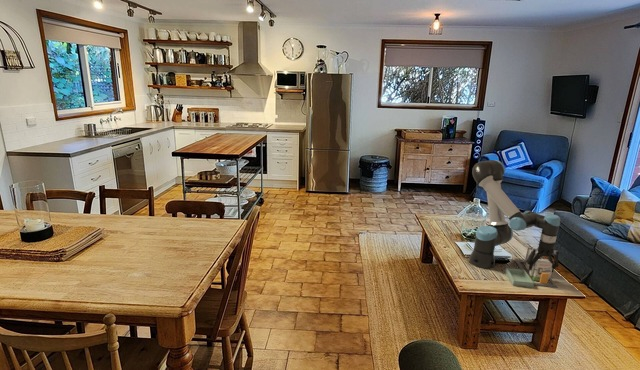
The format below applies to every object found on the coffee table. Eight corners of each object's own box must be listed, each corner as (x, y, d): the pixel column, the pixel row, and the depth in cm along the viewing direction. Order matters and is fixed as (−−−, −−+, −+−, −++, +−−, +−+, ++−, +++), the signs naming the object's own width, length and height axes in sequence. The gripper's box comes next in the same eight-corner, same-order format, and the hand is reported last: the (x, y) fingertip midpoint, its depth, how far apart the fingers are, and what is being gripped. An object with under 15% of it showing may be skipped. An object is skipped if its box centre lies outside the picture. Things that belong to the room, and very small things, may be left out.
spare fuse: (529, 271, 221) (533, 254, 218) (524, 264, 230) (527, 247, 226) (538, 272, 220) (542, 255, 217) (532, 265, 229) (536, 248, 225)
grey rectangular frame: (531, 284, 207) (534, 274, 205) (515, 261, 234) (517, 251, 232) (557, 287, 205) (560, 276, 203) (537, 263, 232) (540, 253, 230)
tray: (512, 285, 206) (513, 280, 205) (504, 272, 220) (505, 268, 219) (532, 287, 204) (533, 283, 203) (523, 274, 218) (524, 270, 217)
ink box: (533, 280, 211) (537, 262, 208) (529, 276, 216) (533, 258, 213) (548, 281, 211) (552, 263, 208) (543, 276, 216) (547, 259, 213)
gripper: (529, 241, 205) (521, 276, 211) (571, 245, 201) (562, 281, 208) (524, 236, 212) (517, 270, 218) (565, 240, 209) (556, 274, 215)
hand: (539, 275), depth 213 cm, fingers closed on ink box, 9 cm apart
